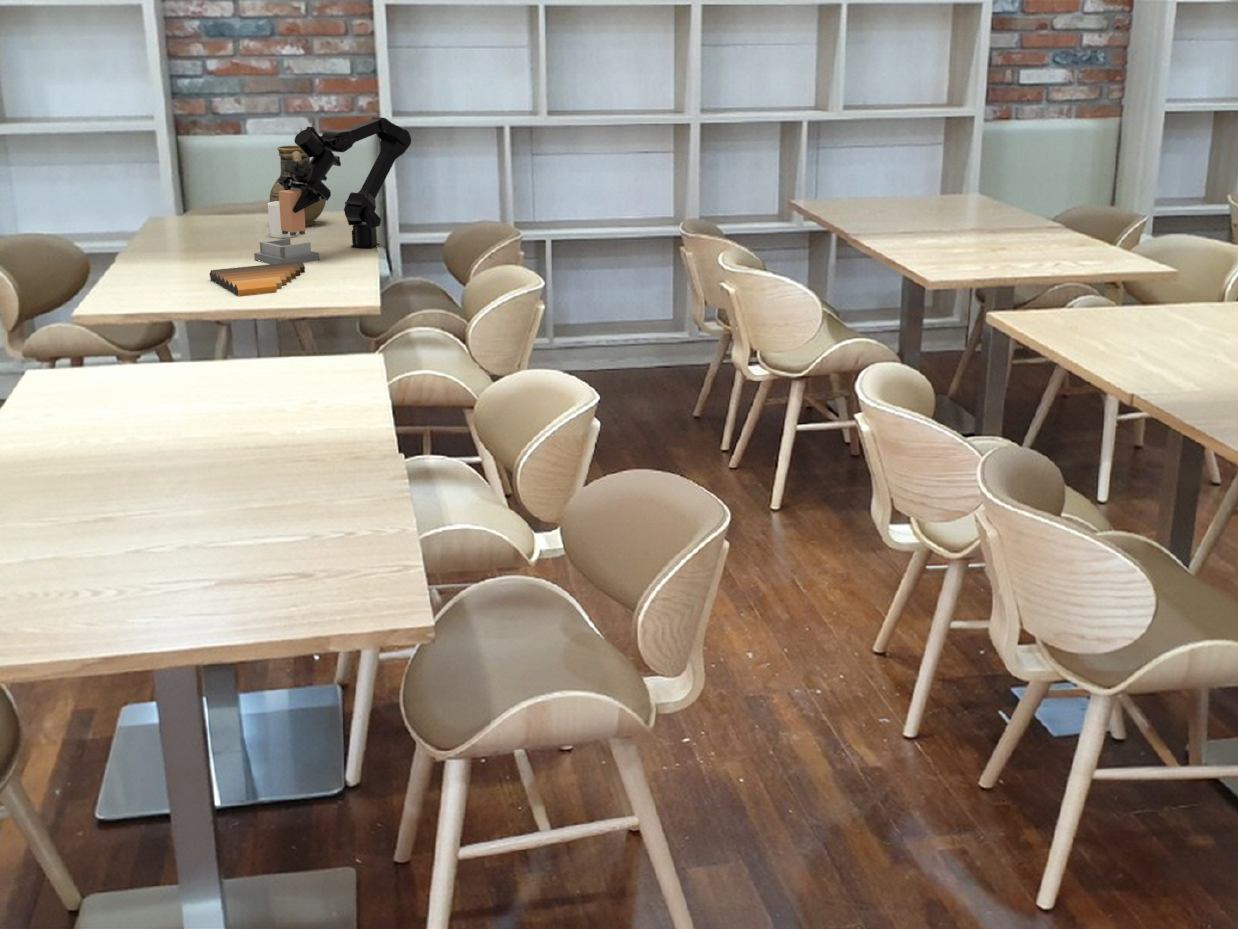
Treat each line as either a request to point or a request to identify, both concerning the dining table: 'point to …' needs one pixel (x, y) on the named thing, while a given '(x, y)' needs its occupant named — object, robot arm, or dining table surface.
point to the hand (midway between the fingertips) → (287, 210)
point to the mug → (276, 221)
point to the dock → (285, 252)
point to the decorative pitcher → (297, 155)
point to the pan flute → (257, 277)
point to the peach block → (291, 212)
